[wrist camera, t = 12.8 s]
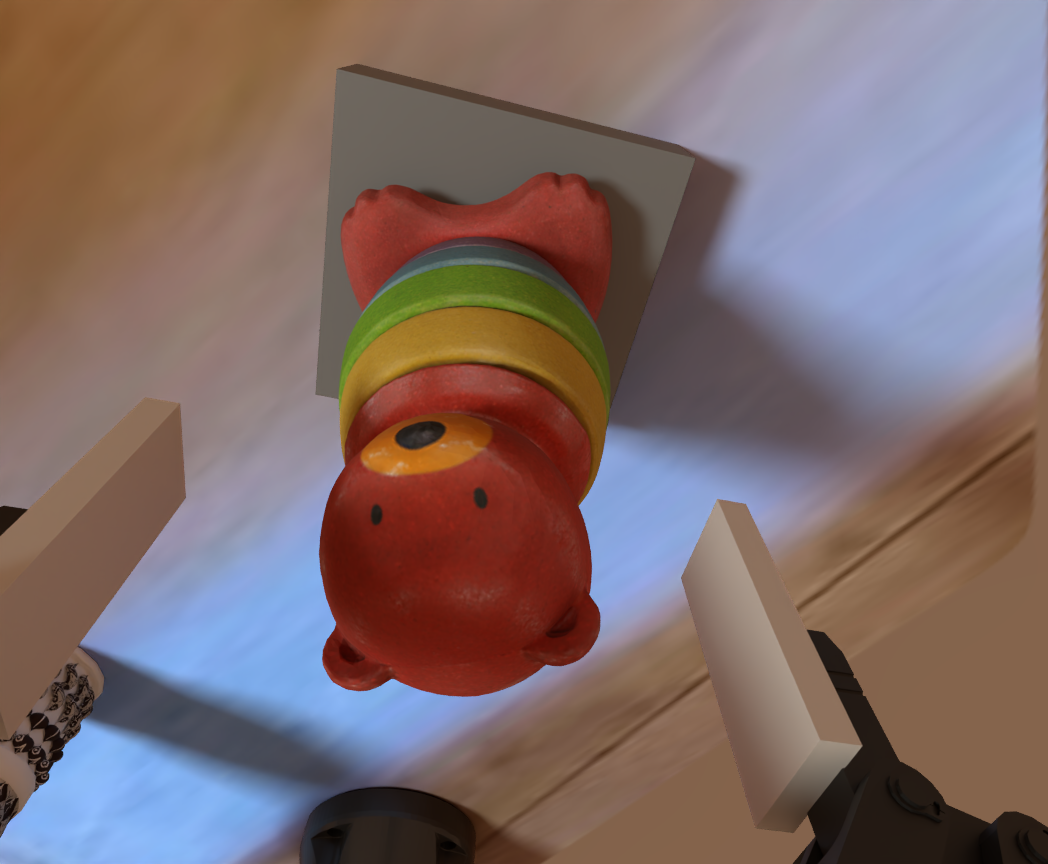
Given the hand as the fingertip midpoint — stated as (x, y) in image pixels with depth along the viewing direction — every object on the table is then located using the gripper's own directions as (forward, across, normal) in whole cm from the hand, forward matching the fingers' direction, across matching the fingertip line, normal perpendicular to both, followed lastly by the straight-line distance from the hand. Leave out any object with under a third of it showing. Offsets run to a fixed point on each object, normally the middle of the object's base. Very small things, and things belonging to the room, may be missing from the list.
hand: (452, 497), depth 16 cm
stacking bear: (+14, 0, 0) cm, 14 cm away
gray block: (+19, 0, 0) cm, 19 cm away
